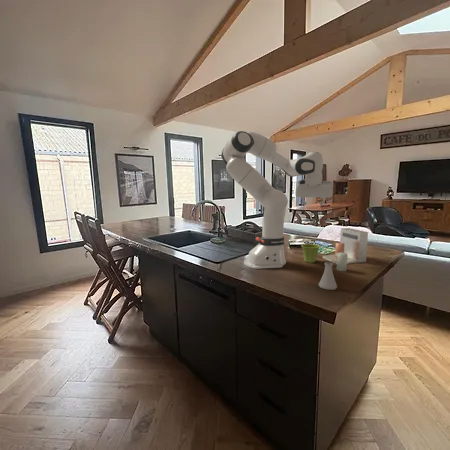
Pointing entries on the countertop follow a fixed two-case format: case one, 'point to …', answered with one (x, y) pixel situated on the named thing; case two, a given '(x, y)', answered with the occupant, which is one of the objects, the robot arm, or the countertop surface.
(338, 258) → the sage part
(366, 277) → the countertop surface
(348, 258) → the service unit
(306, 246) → the plant pot
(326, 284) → the flask
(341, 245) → the terracotta part
